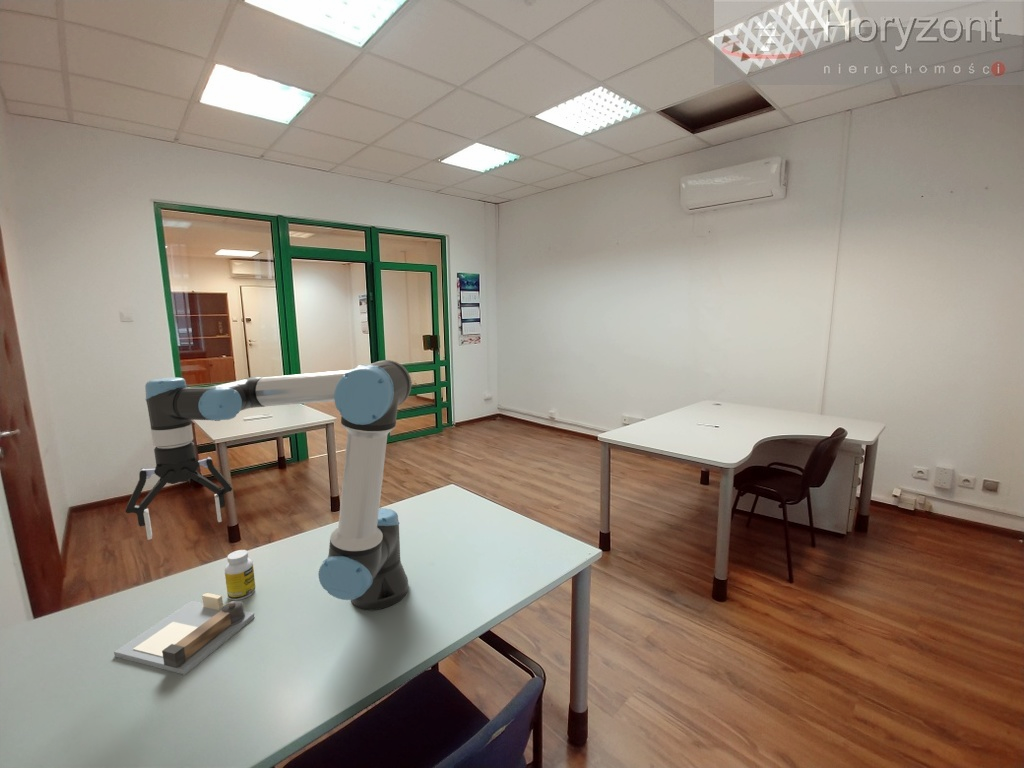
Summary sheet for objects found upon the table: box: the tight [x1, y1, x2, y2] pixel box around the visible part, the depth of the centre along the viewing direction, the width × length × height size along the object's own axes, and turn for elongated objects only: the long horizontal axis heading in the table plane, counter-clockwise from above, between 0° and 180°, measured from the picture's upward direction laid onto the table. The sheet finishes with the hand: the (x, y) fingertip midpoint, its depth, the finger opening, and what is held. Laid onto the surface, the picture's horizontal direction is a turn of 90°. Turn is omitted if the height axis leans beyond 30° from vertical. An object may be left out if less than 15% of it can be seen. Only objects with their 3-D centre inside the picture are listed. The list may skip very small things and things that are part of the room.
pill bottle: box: [224, 549, 256, 601], centre depth 118 cm, size 6×6×12 cm
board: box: [113, 592, 255, 675], centre depth 103 cm, size 20×18×4 cm
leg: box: [162, 600, 245, 668], centre depth 101 cm, size 18×4×4 cm, turn 165°
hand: (186, 528), depth 106 cm, fingers open, 13 cm apart
